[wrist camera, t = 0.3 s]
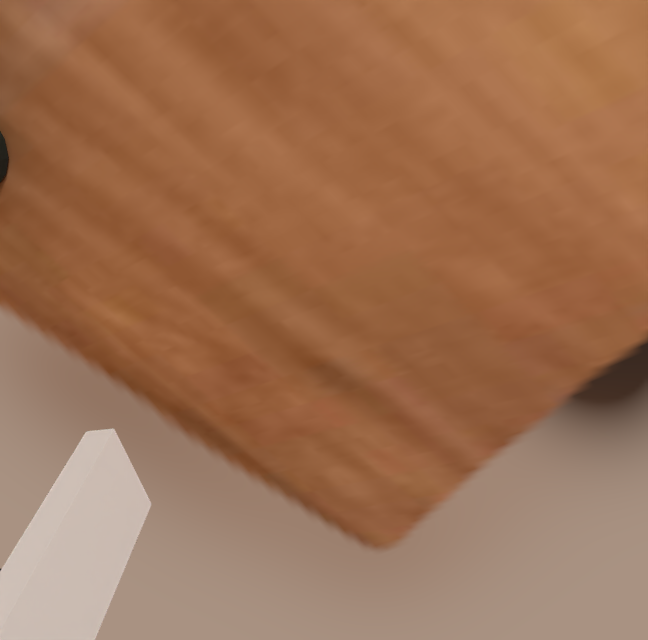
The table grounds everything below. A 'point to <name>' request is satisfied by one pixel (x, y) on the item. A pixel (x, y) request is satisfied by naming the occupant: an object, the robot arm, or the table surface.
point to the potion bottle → (3, 157)
